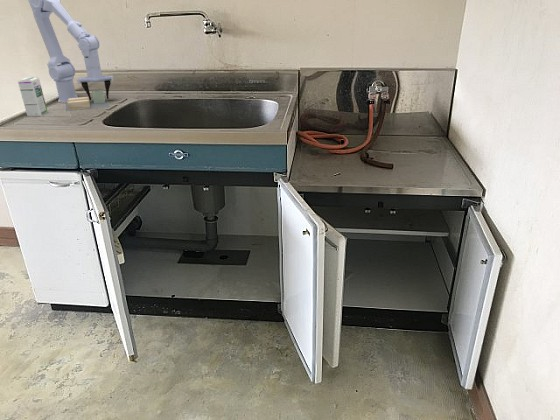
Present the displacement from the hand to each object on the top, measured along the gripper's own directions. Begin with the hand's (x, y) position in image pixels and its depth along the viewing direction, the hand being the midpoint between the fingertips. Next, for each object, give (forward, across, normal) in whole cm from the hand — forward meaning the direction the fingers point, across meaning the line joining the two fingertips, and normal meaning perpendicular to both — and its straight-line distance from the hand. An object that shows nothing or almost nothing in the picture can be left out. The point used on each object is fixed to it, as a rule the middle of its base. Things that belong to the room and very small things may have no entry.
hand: (99, 99), depth 205 cm
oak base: (+1, -8, -6) cm, 10 cm away
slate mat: (+2, -5, -4) cm, 7 cm away
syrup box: (+2, -24, -11) cm, 26 cm away
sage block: (+1, 0, 0) cm, 1 cm away
